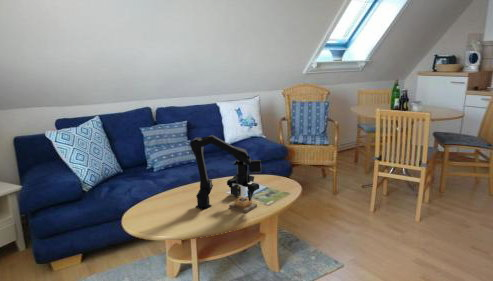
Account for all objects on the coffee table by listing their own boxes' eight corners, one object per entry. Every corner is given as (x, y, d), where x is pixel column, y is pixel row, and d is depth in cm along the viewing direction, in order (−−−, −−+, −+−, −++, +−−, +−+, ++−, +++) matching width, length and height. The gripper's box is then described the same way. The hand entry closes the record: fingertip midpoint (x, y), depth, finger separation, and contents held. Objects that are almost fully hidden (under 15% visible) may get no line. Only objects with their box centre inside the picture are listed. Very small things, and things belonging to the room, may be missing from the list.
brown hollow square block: (244, 208, 186) (244, 203, 185) (234, 205, 190) (234, 200, 190) (251, 204, 192) (251, 199, 191) (241, 201, 196) (241, 196, 195)
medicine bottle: (230, 195, 209) (230, 176, 206) (236, 191, 215) (235, 173, 212) (240, 197, 206) (240, 178, 203) (246, 193, 212) (245, 174, 209)
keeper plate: (246, 212, 184) (246, 203, 183) (229, 207, 191) (228, 198, 189) (257, 206, 192) (256, 197, 190) (240, 201, 199) (239, 193, 197)
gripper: (264, 171, 188) (265, 198, 191) (238, 165, 198) (238, 191, 202) (253, 176, 179) (253, 204, 182) (225, 170, 190) (226, 197, 193)
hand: (243, 199), depth 190 cm, fingers open, 9 cm apart
